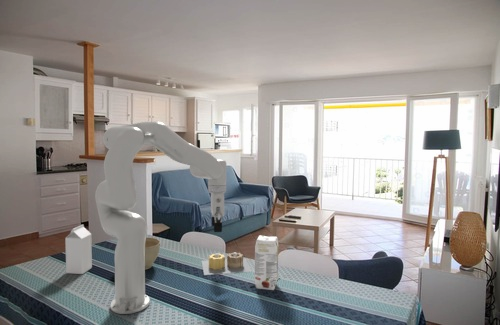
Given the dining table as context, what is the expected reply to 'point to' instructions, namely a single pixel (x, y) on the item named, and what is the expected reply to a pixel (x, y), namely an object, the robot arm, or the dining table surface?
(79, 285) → the dining table surface
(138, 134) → the robot arm
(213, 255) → the ochre gear
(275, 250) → the juice carton
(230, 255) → the beech gear
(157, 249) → the planter bowl
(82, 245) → the milk carton
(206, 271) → the gear board
